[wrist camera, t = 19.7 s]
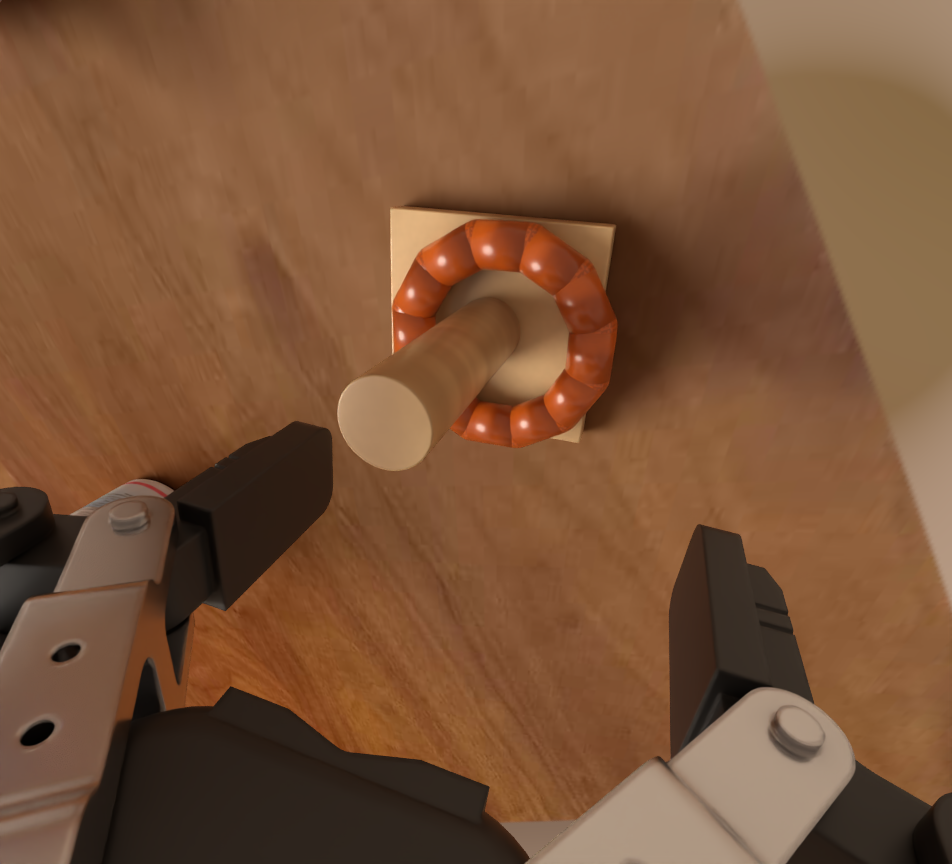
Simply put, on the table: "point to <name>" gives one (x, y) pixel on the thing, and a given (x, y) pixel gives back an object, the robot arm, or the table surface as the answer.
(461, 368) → the post
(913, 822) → the robot arm
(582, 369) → the ring
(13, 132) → the table surface
